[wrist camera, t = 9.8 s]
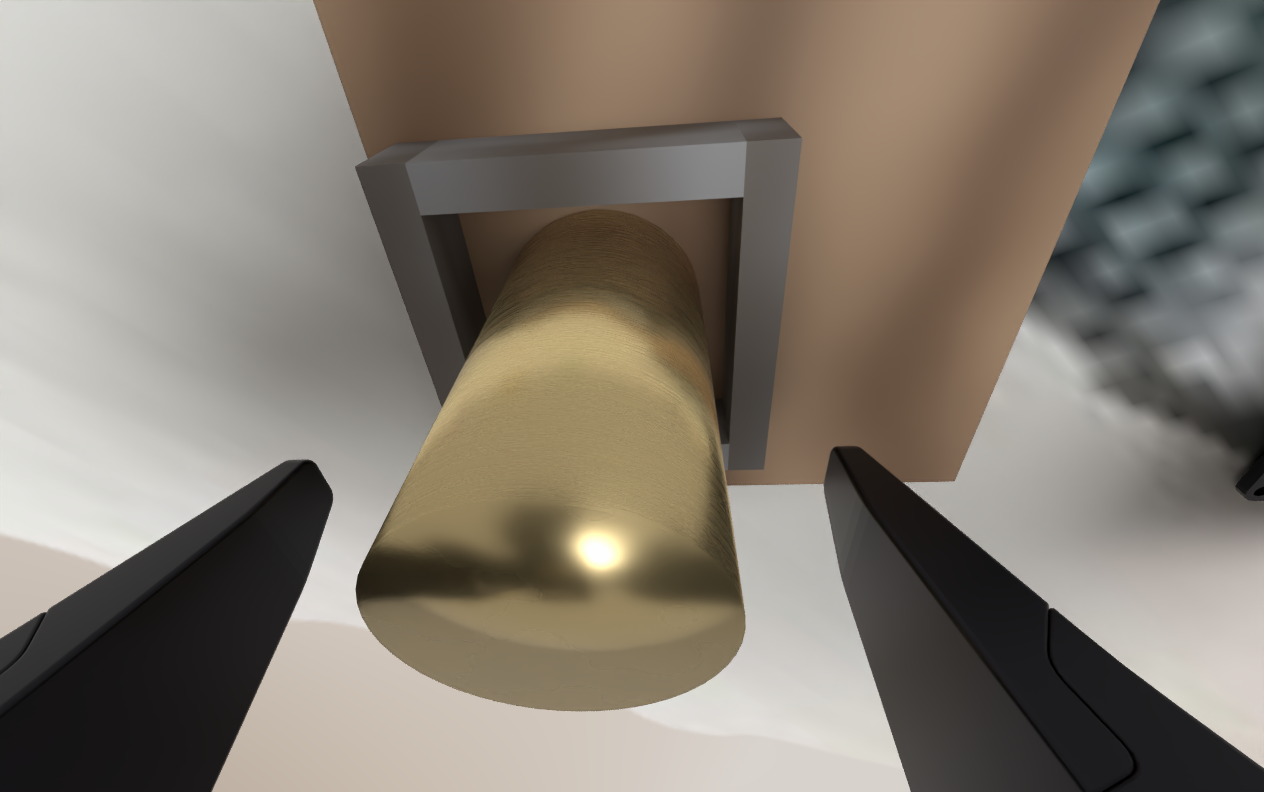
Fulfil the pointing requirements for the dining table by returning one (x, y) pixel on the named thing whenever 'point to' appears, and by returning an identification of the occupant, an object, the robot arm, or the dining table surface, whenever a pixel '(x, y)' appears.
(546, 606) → the solid brass cylinder
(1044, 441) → the dining table surface
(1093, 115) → the jig
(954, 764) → the robot arm
